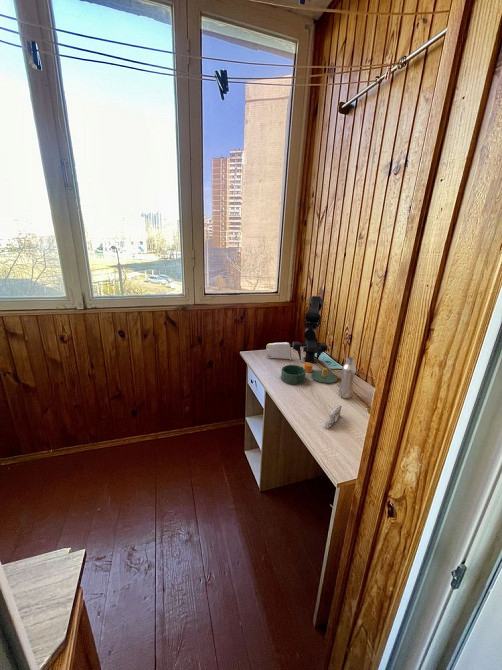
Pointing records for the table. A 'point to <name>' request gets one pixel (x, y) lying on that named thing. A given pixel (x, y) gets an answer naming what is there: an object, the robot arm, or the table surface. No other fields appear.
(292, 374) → the tin
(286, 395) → the table surface
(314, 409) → the table surface
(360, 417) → the table surface
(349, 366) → the silver metal bottle
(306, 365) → the candle
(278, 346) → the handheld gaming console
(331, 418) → the grey stone
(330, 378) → the tin lid
